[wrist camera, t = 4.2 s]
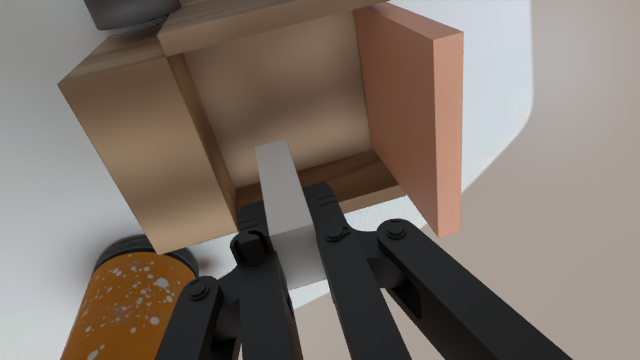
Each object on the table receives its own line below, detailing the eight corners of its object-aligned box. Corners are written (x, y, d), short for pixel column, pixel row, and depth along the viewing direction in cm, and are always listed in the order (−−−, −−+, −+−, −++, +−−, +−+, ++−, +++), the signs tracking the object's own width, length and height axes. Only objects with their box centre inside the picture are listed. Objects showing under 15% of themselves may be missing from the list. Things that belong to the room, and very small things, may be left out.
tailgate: (352, 1, 23) (433, 40, 14) (378, -6, 23) (473, 29, 15) (372, 147, 29) (438, 237, 20) (392, 141, 29) (467, 229, 20)
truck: (88, -5, 25) (22, 25, 16) (340, -64, 26) (397, -65, 18) (185, 197, 34) (174, 283, 25) (369, 146, 35) (416, 211, 27)
